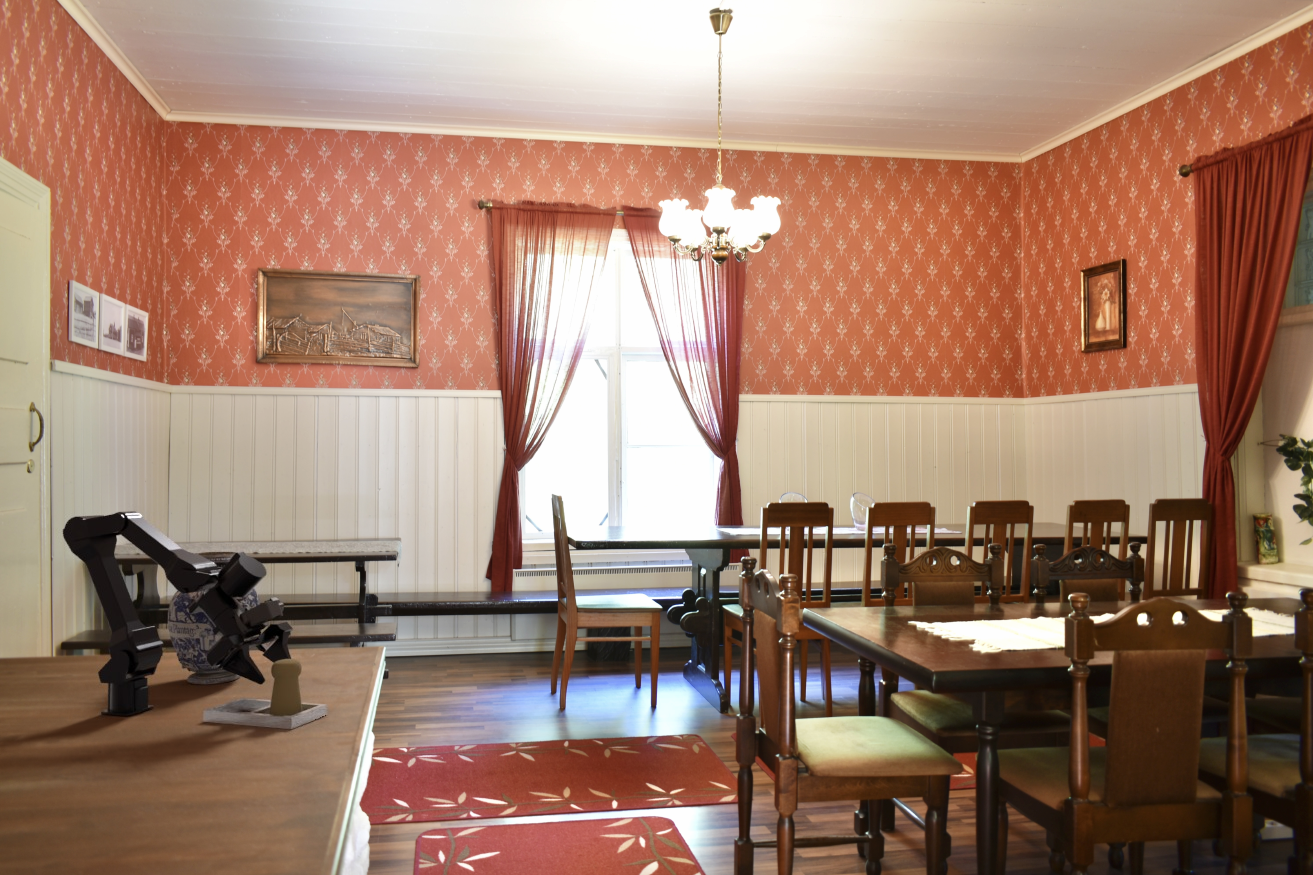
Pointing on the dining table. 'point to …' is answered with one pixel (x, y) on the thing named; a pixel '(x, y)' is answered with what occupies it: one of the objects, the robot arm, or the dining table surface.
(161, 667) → the dining table surface
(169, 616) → the decorative vase
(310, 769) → the dining table surface
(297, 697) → the cork
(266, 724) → the grey divided tray
